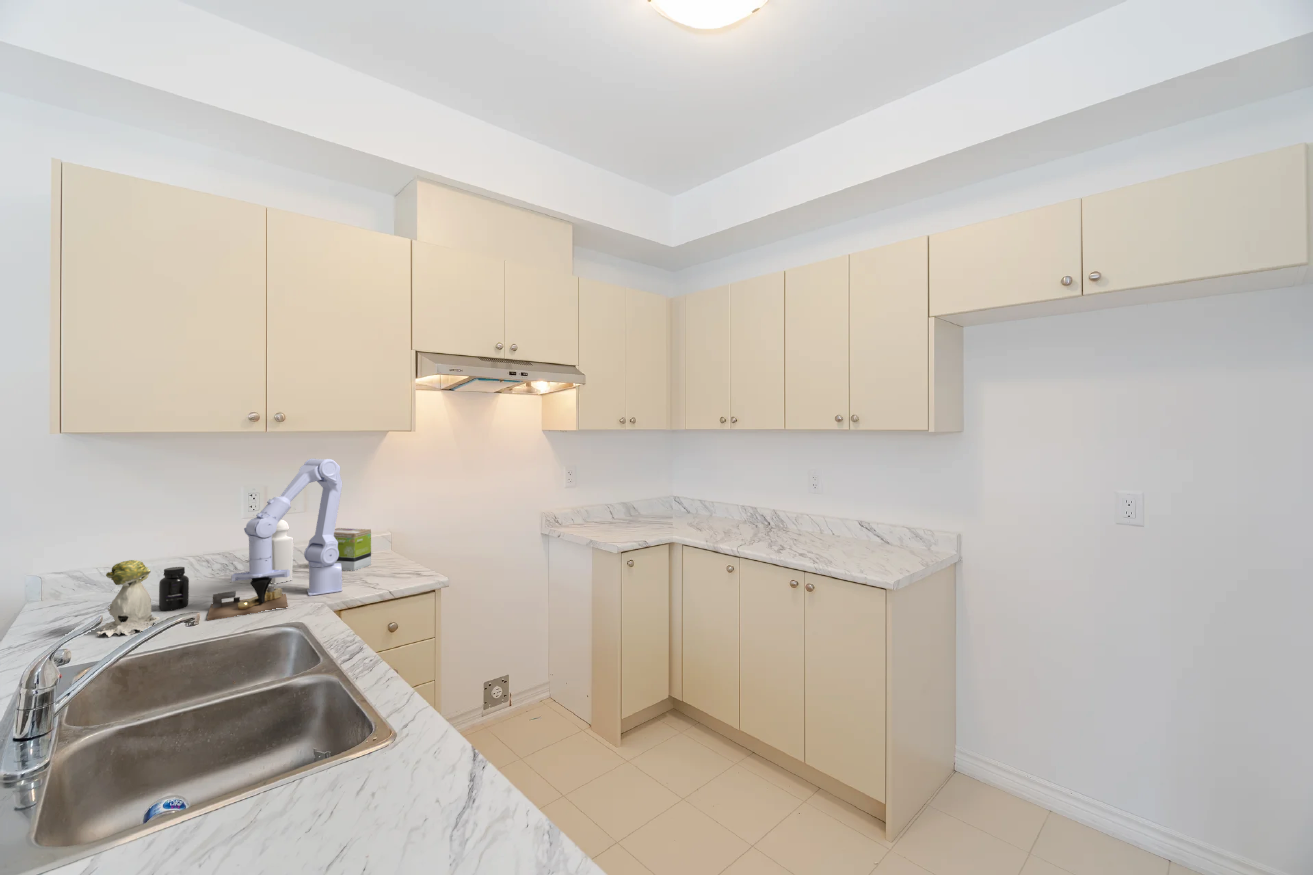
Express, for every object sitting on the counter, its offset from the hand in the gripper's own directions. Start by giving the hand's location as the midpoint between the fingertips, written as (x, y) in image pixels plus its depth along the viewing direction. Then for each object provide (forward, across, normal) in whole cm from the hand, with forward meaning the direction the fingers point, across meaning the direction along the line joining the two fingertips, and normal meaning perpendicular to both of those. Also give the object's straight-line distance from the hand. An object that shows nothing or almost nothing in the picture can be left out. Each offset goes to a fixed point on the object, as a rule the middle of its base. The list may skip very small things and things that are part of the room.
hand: (261, 602), depth 171 cm
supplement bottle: (+2, -25, +8) cm, 26 cm away
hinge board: (+1, -3, +1) cm, 4 cm away
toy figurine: (+2, -27, -11) cm, 30 cm away
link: (0, -1, +2) cm, 2 cm away
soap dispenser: (+2, -5, +33) cm, 33 cm away
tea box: (+2, +13, +49) cm, 51 cm away
